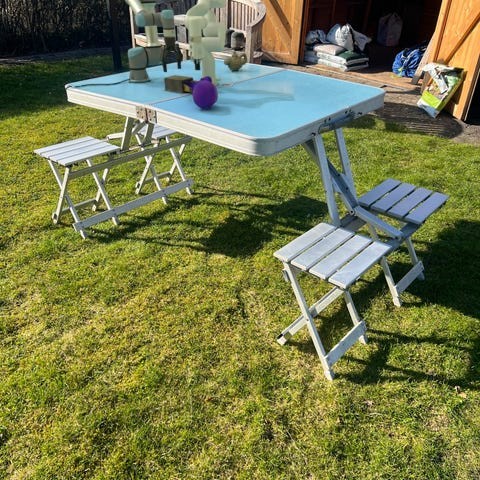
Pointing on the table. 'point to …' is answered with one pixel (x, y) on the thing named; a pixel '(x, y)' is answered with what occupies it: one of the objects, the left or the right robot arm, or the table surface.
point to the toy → (203, 92)
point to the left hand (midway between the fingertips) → (172, 70)
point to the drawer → (189, 89)
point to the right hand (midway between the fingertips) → (197, 70)
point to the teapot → (235, 61)
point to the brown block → (175, 83)
